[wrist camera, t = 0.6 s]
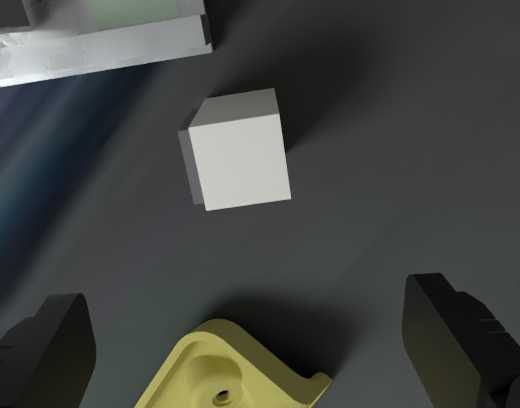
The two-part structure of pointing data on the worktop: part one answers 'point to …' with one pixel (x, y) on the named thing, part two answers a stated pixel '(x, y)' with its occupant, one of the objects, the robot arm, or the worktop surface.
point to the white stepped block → (96, 35)
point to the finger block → (235, 150)
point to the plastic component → (228, 374)
